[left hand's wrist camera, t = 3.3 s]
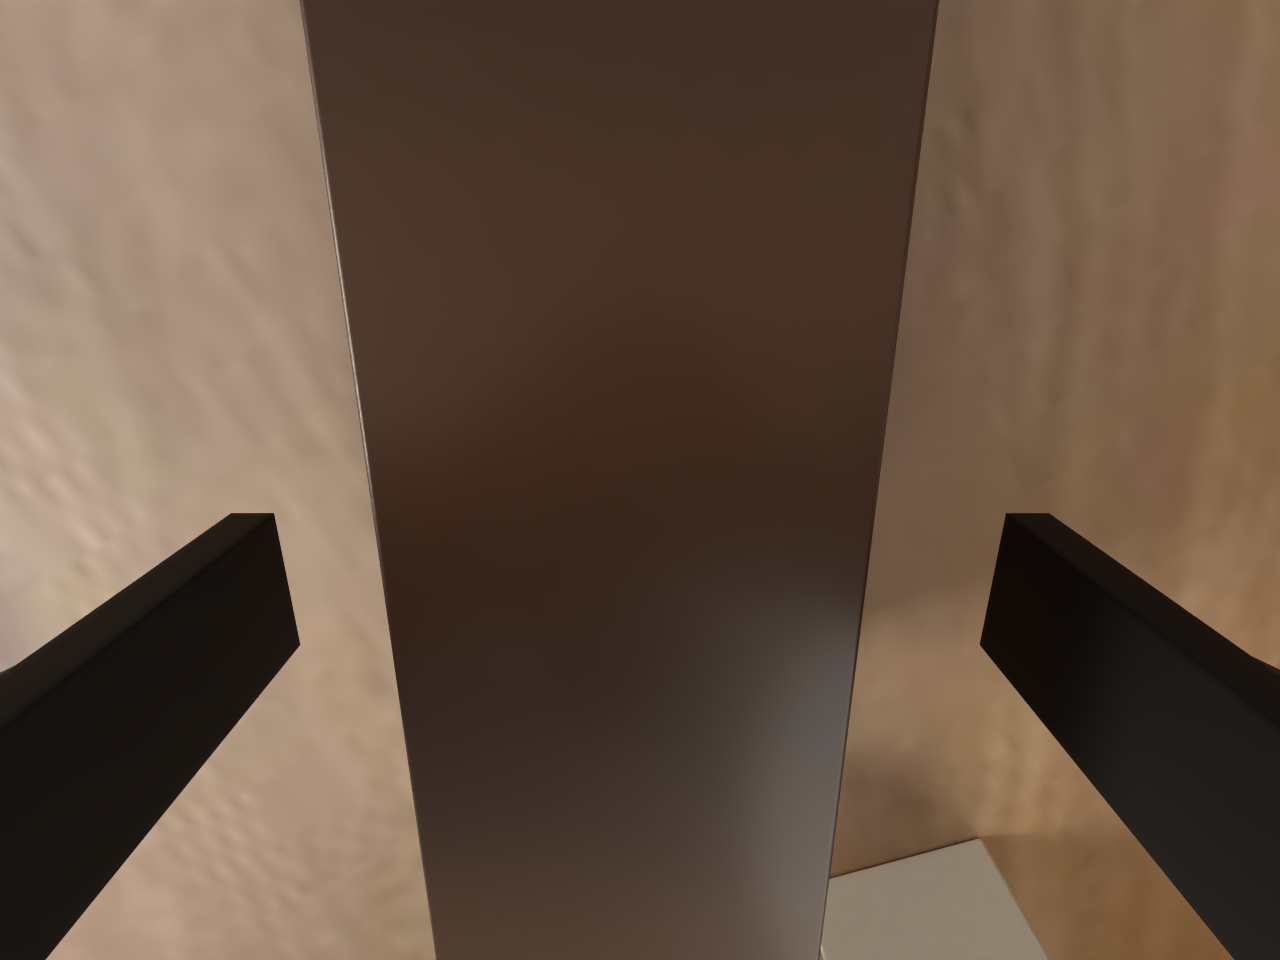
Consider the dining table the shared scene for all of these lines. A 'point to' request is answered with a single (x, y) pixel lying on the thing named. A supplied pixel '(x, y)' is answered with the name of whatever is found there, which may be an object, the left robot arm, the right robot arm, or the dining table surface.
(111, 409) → the dining table surface
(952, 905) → the block
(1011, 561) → the left robot arm
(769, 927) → the bar
